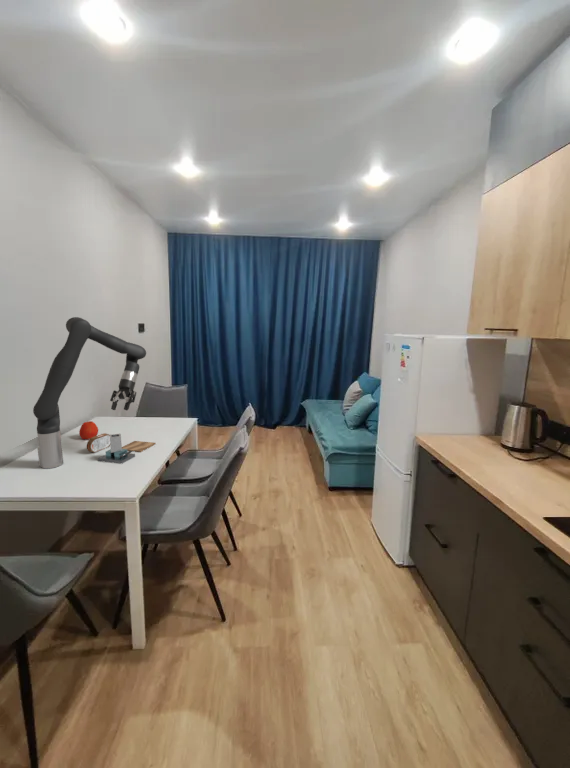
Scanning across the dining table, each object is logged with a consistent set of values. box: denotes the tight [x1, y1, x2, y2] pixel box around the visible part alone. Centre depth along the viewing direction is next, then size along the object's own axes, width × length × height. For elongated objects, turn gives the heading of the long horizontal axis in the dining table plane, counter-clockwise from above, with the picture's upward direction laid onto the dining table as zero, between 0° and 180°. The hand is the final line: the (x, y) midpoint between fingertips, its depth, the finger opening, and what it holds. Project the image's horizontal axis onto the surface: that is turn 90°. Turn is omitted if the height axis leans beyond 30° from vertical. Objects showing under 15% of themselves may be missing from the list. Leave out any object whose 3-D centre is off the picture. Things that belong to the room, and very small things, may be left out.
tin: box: [86, 432, 111, 453], centre depth 193 cm, size 15×3×8 cm, turn 160°
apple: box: [78, 420, 99, 440], centre depth 213 cm, size 10×10×10 cm
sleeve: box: [109, 433, 123, 453], centre depth 179 cm, size 5×5×8 cm
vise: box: [97, 448, 136, 464], centre depth 180 cm, size 14×10×11 cm
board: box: [122, 440, 156, 453], centre depth 198 cm, size 14×14×1 cm
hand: (119, 409), depth 180 cm, fingers open, 8 cm apart
